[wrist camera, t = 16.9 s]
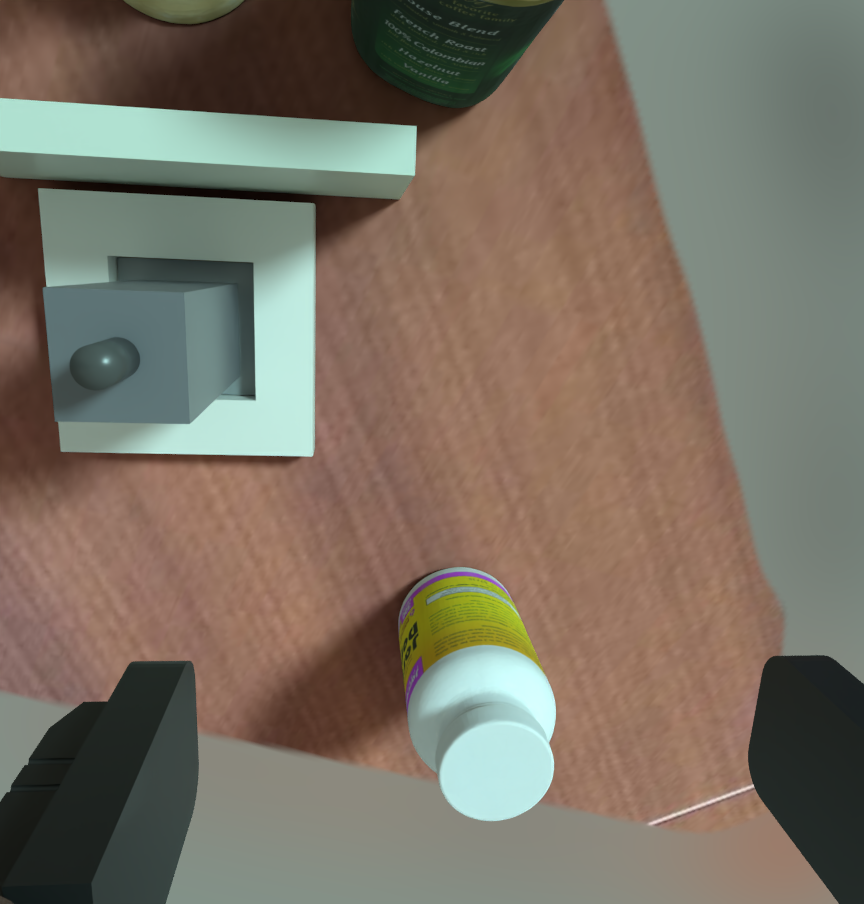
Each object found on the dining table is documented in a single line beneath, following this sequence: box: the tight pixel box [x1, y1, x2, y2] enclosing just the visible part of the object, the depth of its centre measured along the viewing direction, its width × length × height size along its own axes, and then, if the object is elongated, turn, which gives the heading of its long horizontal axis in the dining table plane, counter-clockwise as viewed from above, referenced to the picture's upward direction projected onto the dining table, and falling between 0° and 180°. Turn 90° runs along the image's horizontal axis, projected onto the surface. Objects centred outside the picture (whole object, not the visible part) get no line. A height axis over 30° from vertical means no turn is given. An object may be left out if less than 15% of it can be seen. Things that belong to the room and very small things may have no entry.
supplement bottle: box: [398, 567, 556, 821], centre depth 35 cm, size 7×7×13 cm
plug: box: [43, 279, 240, 424], centre depth 29 cm, size 4×5×13 cm
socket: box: [0, 98, 417, 456], centre depth 30 cm, size 18×14×10 cm
